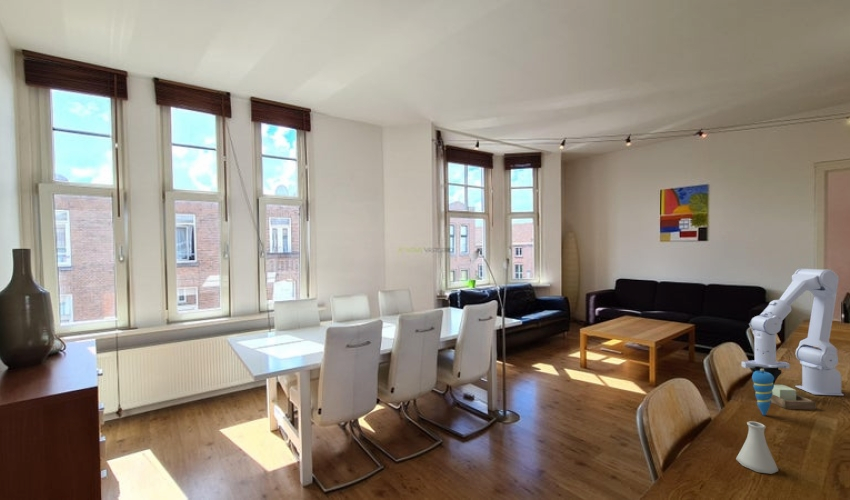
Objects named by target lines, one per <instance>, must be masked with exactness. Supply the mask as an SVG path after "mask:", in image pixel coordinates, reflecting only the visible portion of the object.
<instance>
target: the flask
mask: <svg viewBox="0 0 850 500" xmlns="http://www.w3.org/2000/svg"><path fill="white" fill-rule="evenodd" d="M746 424H747V426H748V431H747V437H746V438H745V441H744V443H743V445H742V447H741V449H740V450H739V453H738V455H736V458H735V460H736V461H737V462H738V463H740V465H741V466H743V467H745V468H747V469H749V470H752V471H754V472H756V473H761V474H762V473H763V474H771V475H772V474H775V473H777V472H779V468H778V466H777V464H776V462H775V460H774V457H773V455H772V453H771V451H770V448H769V446H768V443H767V441H766V440H767V439H766V436H765V429H766V428H767V426H766V425H764V424H763V423H761V422H757V421H746Z"/></svg>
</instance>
